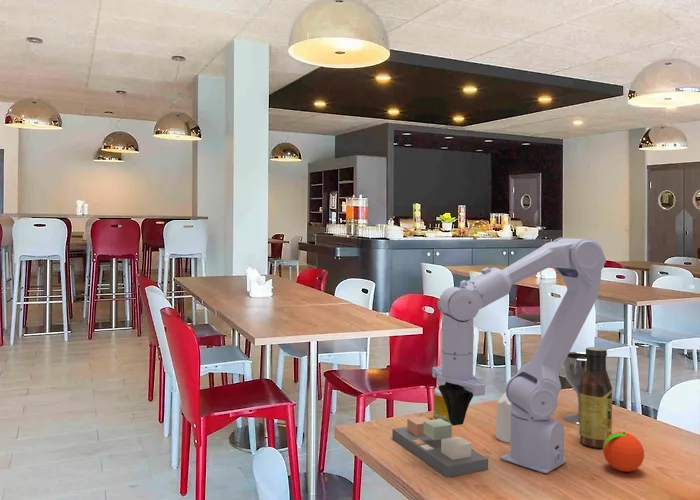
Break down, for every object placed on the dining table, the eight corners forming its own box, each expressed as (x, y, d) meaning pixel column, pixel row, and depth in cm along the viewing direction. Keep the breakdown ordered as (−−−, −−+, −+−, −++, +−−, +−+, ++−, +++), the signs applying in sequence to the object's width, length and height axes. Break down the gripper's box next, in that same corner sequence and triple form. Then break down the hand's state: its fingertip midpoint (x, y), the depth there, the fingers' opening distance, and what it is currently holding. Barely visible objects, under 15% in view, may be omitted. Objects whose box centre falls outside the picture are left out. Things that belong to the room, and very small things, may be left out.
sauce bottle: (614, 450, 119) (617, 352, 118) (581, 448, 120) (584, 351, 119) (607, 439, 125) (609, 346, 124) (576, 436, 126) (578, 344, 125)
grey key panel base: (488, 469, 109) (488, 457, 109) (446, 477, 105) (447, 465, 105) (429, 432, 128) (429, 422, 128) (392, 438, 124) (392, 428, 124)
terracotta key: (433, 434, 121) (433, 422, 121) (416, 436, 120) (417, 424, 120) (423, 427, 125) (423, 416, 125) (407, 430, 124) (407, 418, 123)
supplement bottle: (450, 426, 132) (451, 383, 132) (429, 421, 136) (429, 379, 135) (461, 420, 137) (461, 378, 136) (440, 415, 140) (441, 375, 139)
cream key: (471, 456, 110) (471, 443, 109) (452, 460, 108) (453, 446, 108) (458, 449, 113) (459, 436, 113) (441, 452, 112) (441, 439, 112)
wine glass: (554, 416, 140) (555, 353, 139) (579, 412, 143) (580, 351, 143) (580, 426, 133) (582, 360, 132) (606, 422, 136) (607, 357, 135)
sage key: (451, 437, 115) (451, 424, 115) (434, 440, 114) (434, 427, 114) (440, 430, 119) (440, 418, 119) (423, 433, 118) (423, 421, 117)
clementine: (615, 480, 104) (616, 441, 104) (589, 465, 111) (590, 428, 111) (652, 475, 107) (653, 437, 106) (624, 461, 113) (625, 424, 113)
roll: (498, 377, 129) (524, 379, 127) (497, 431, 129) (523, 434, 127) (495, 384, 123) (523, 387, 121) (494, 441, 123) (522, 444, 122)
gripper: (419, 346, 115) (418, 415, 115) (461, 362, 102) (460, 439, 102) (449, 343, 118) (449, 410, 118) (495, 358, 104) (494, 434, 105)
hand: (456, 423), depth 110 cm, fingers closed
